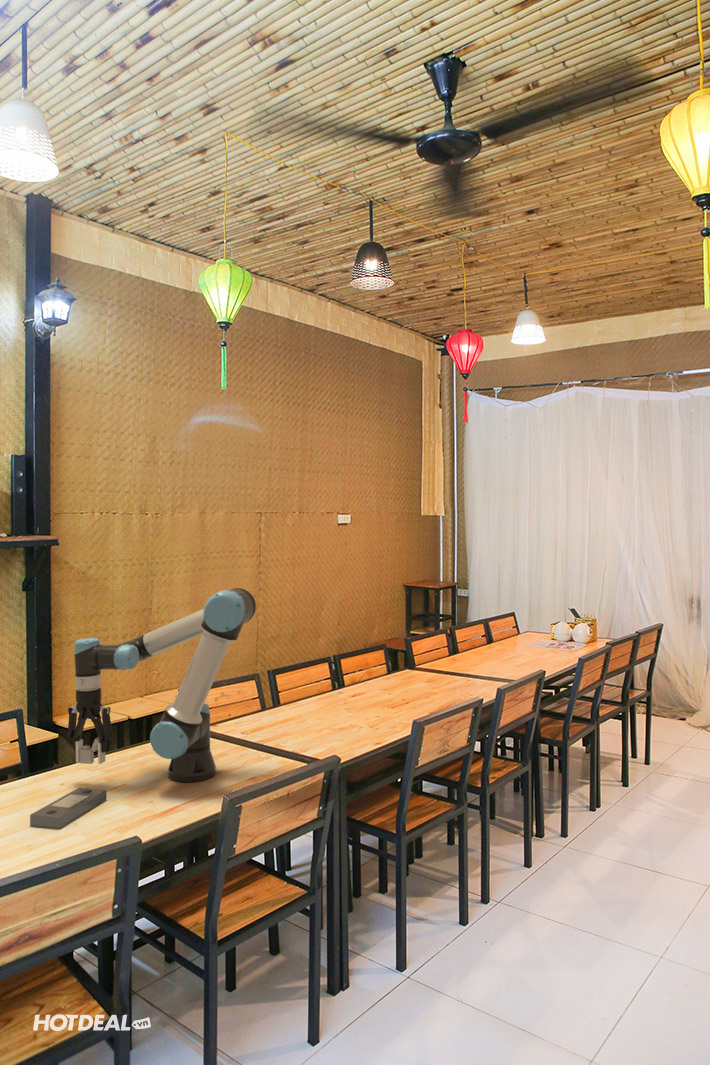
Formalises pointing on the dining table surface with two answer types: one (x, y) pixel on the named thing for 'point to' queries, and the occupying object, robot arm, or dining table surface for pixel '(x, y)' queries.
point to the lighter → (88, 752)
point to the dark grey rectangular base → (68, 808)
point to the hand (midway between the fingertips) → (90, 761)
